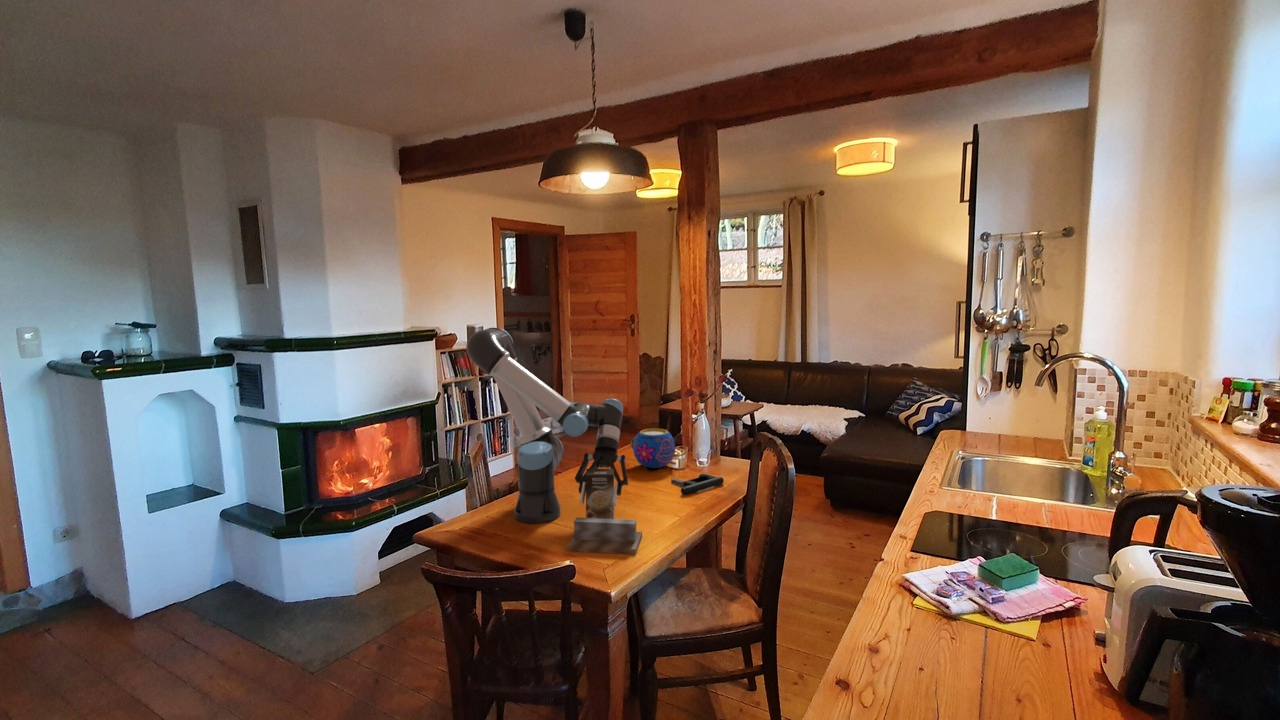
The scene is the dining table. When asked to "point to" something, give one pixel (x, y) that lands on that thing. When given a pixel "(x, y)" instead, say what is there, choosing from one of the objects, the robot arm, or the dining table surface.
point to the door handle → (698, 483)
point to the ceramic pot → (653, 447)
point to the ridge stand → (605, 536)
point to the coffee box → (599, 493)
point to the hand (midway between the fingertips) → (597, 503)
